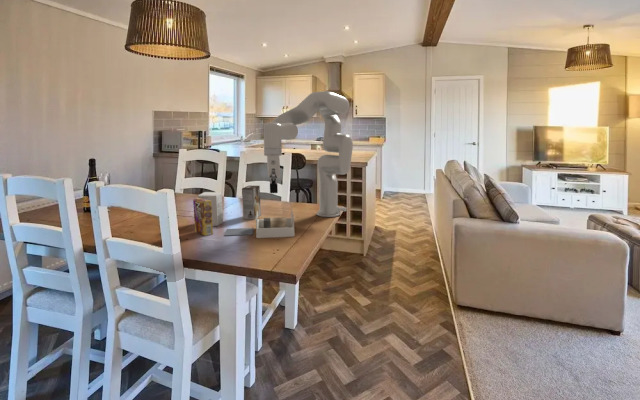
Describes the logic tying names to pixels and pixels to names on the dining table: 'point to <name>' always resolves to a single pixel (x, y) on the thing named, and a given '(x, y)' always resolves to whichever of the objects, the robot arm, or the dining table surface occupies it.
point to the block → (275, 222)
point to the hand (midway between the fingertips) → (273, 191)
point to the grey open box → (274, 229)
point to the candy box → (203, 216)
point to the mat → (239, 232)
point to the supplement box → (214, 206)
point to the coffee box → (251, 202)
